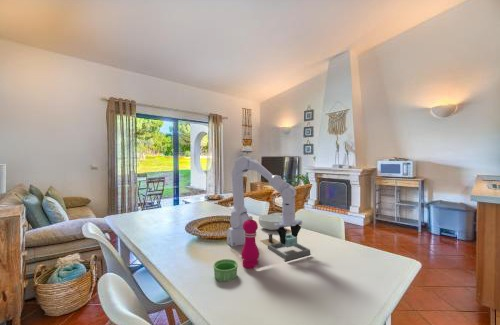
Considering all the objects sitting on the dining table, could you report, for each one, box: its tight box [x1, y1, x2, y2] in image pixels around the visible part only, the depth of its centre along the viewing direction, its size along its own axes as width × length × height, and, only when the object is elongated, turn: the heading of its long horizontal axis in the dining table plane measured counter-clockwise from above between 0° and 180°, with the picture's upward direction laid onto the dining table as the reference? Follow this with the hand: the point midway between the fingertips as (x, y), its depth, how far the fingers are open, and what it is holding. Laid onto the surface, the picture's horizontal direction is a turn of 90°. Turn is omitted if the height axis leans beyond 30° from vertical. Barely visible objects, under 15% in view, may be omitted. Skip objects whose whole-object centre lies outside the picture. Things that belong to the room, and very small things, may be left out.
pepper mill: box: [240, 215, 260, 270], centre depth 93 cm, size 7×7×20 cm
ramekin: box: [212, 258, 239, 282], centre depth 85 cm, size 9×9×4 cm
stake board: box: [259, 233, 280, 247], centre depth 116 cm, size 8×8×5 cm
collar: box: [279, 233, 298, 248], centre depth 105 cm, size 6×7×4 cm
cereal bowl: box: [258, 214, 282, 231], centre depth 140 cm, size 17×17×7 cm
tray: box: [267, 241, 311, 263], centre depth 105 cm, size 14×14×3 cm
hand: (288, 242), depth 105 cm, fingers closed on collar, 6 cm apart
